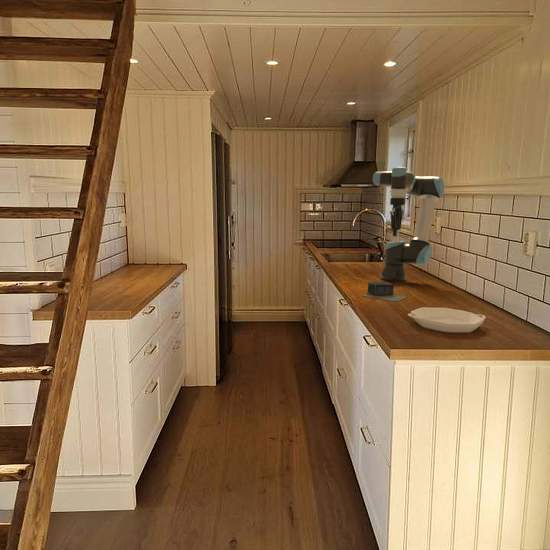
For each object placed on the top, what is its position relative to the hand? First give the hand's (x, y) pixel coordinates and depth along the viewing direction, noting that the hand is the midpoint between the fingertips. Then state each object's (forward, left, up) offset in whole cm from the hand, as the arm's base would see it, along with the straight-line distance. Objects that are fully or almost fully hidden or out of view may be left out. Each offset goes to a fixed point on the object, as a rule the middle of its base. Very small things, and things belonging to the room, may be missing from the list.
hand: (395, 242), depth 255 cm
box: (+13, +5, -23) cm, 27 cm away
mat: (+22, +6, -26) cm, 34 cm away
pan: (+54, +47, -26) cm, 76 cm away
